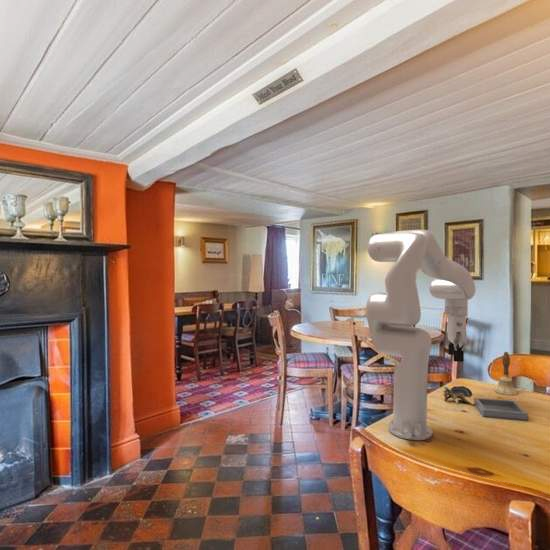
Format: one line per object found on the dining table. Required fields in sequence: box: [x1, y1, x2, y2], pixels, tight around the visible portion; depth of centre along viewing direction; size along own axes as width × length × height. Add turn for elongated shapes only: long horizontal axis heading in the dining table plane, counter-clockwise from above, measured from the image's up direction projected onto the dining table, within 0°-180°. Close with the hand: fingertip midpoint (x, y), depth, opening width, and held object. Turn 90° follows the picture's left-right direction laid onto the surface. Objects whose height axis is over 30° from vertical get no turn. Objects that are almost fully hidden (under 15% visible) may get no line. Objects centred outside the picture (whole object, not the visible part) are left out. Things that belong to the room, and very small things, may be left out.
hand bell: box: [493, 351, 519, 397], centre depth 151 cm, size 8×8×16 cm
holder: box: [473, 397, 529, 422], centre depth 130 cm, size 12×13×2 cm
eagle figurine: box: [442, 385, 473, 406], centre depth 140 cm, size 8×7×9 cm
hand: (455, 357), depth 139 cm, fingers open, 9 cm apart
